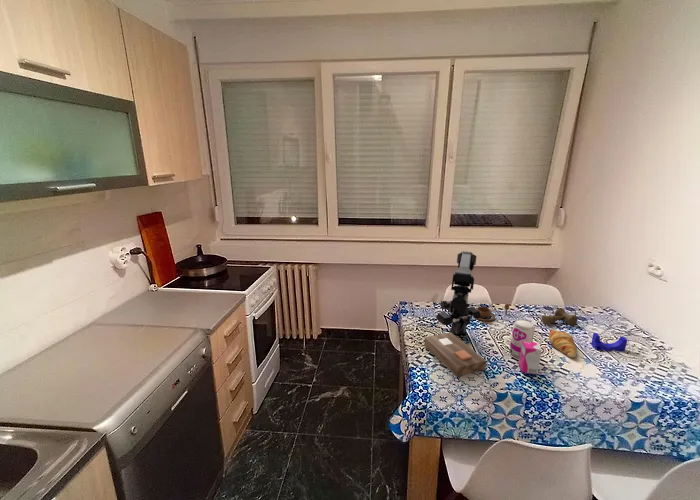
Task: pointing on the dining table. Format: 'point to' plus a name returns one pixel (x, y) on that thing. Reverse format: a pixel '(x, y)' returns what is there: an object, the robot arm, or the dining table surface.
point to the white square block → (445, 341)
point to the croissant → (563, 342)
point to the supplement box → (530, 358)
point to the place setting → (488, 313)
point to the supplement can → (521, 336)
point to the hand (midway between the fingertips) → (456, 333)
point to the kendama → (559, 317)
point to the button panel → (449, 359)
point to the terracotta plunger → (462, 355)
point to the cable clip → (599, 345)
